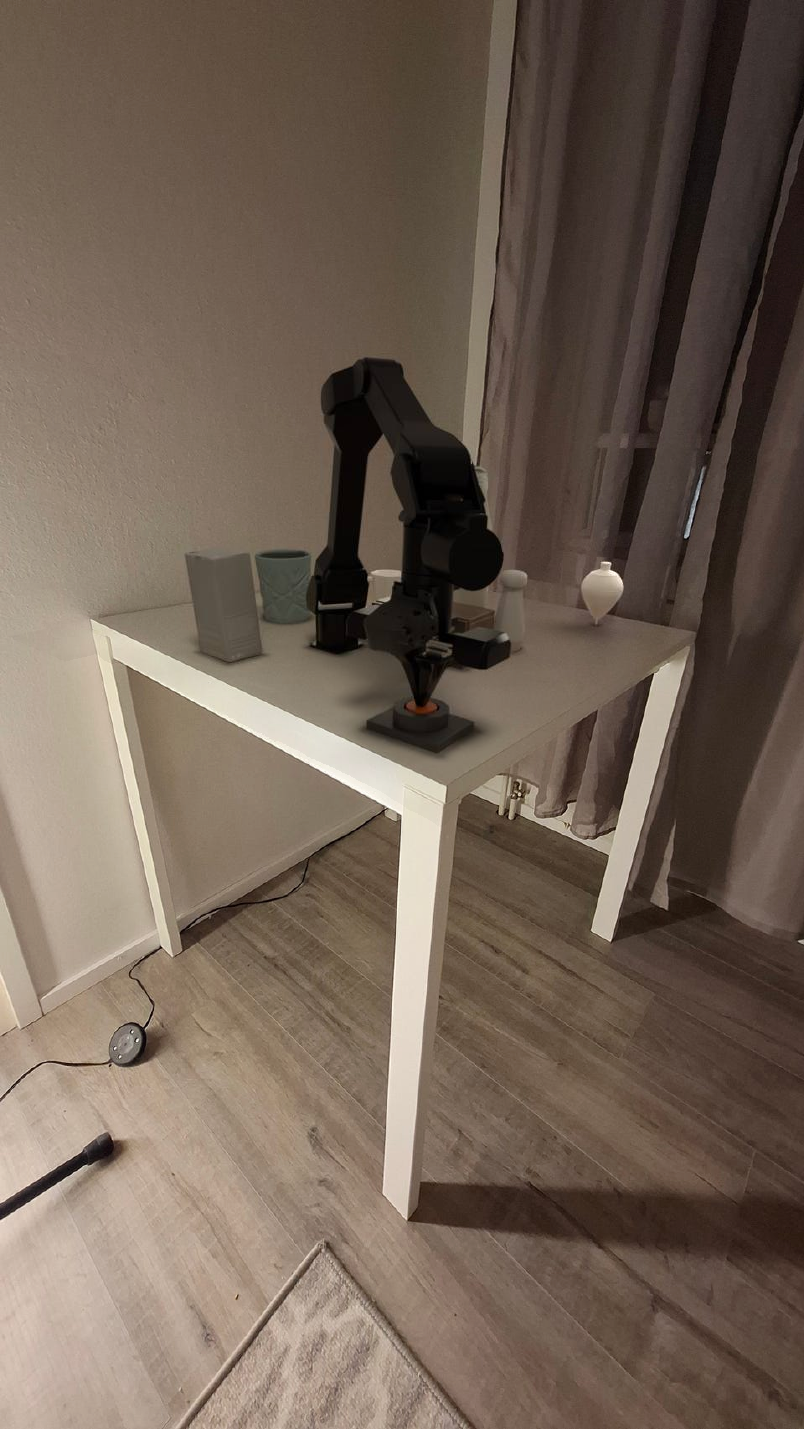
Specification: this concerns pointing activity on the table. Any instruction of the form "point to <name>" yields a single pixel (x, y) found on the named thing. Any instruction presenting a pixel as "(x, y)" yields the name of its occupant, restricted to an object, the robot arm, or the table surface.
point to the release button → (421, 708)
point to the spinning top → (601, 590)
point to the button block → (421, 726)
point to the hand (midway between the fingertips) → (421, 705)
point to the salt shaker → (511, 608)
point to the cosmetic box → (224, 603)
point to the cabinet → (468, 614)
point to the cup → (383, 582)
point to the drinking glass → (284, 584)
